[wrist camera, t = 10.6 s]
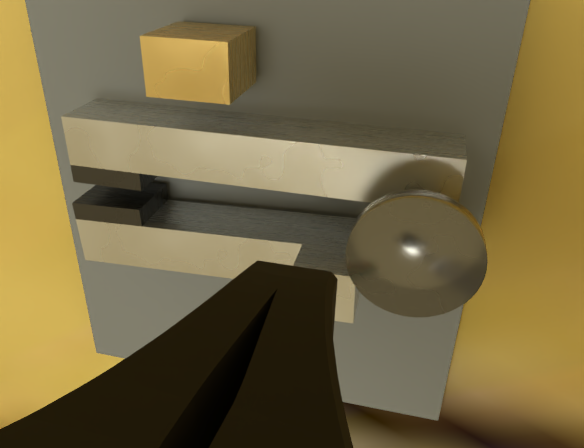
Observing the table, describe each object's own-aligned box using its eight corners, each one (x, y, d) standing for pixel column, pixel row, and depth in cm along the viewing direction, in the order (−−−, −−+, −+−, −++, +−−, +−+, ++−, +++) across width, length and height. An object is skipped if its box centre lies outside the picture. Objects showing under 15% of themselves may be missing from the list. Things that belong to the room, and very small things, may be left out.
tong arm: (488, 154, 16) (498, 206, 13) (468, 272, 18) (473, 340, 15) (94, 127, 19) (29, 165, 16) (114, 231, 21) (61, 282, 18)
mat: (530, -23, 14) (534, -20, 14) (438, 405, 22) (437, 420, 22) (33, -44, 17) (16, -43, 17) (106, 340, 25) (96, 352, 25)
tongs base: (464, 134, 16) (468, 171, 14) (446, 231, 18) (447, 280, 15) (96, 98, 18) (44, 124, 16) (110, 187, 20) (65, 223, 18)
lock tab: (255, 26, 16) (227, 42, 14) (256, 82, 16) (229, 104, 14) (177, 21, 16) (139, 35, 14) (181, 75, 17) (146, 96, 15)
